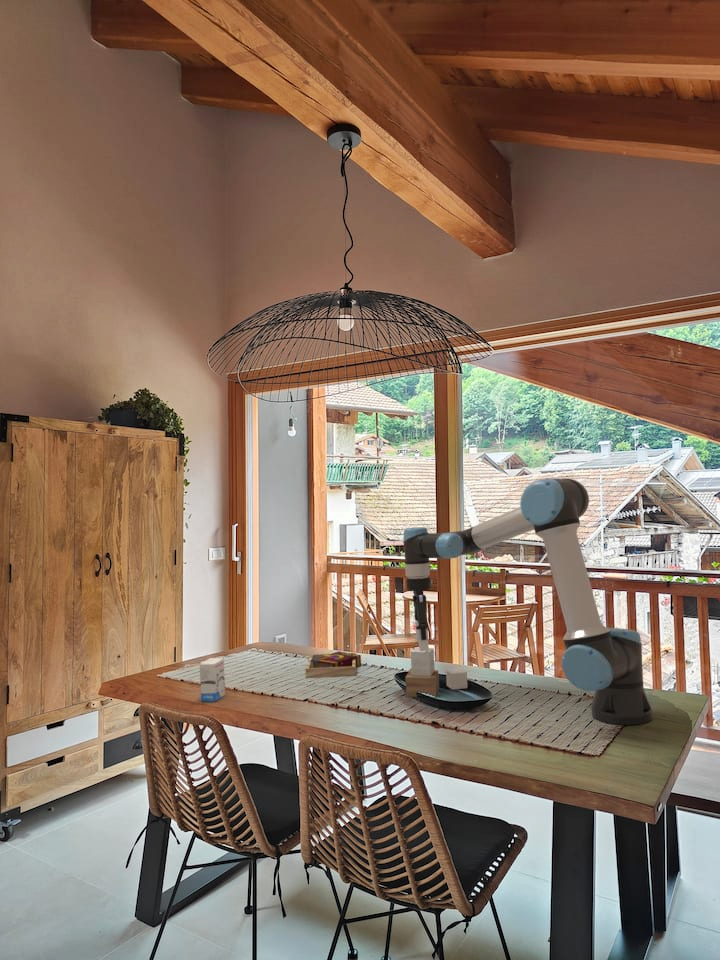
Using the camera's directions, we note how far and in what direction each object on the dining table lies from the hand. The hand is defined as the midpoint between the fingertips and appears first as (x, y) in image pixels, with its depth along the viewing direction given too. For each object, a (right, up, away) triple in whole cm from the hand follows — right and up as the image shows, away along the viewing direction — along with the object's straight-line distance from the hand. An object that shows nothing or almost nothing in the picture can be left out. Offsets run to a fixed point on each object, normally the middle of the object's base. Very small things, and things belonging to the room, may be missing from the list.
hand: (422, 646), depth 214 cm
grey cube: (+11, -14, +5) cm, 19 cm away
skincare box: (0, -9, 0) cm, 9 cm away
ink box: (-65, -18, +4) cm, 68 cm away
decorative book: (-28, -17, +35) cm, 48 cm away
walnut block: (0, -15, 0) cm, 15 cm away
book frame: (-29, -17, +35) cm, 49 cm away
